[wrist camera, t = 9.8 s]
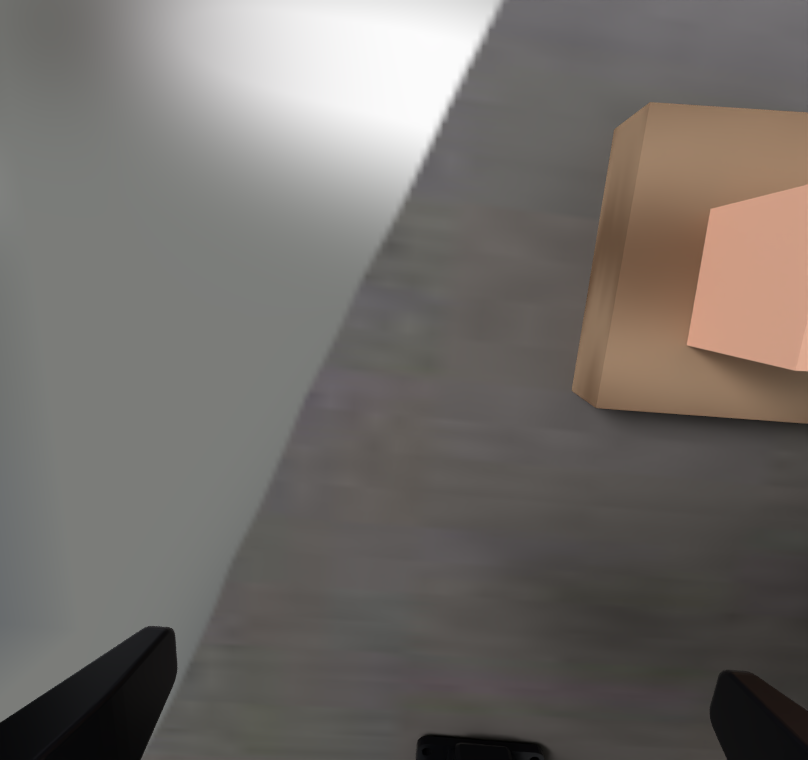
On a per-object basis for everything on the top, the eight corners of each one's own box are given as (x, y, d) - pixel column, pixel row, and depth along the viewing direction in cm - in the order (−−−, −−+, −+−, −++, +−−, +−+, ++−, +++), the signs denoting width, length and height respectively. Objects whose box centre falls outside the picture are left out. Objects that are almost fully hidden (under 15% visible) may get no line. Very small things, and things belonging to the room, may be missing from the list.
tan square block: (800, 404, 19) (872, 428, 16) (568, 388, 19) (596, 407, 16) (874, 151, 16) (973, 123, 13) (608, 133, 16) (650, 102, 14)
